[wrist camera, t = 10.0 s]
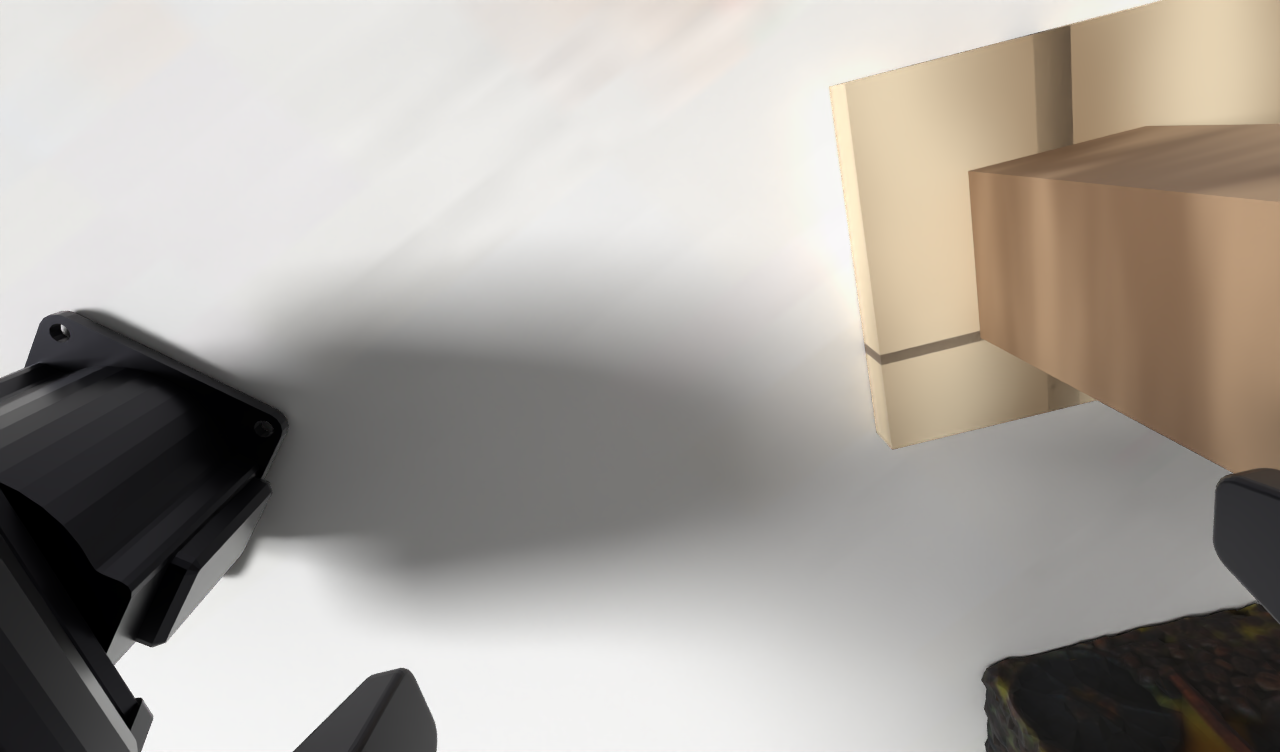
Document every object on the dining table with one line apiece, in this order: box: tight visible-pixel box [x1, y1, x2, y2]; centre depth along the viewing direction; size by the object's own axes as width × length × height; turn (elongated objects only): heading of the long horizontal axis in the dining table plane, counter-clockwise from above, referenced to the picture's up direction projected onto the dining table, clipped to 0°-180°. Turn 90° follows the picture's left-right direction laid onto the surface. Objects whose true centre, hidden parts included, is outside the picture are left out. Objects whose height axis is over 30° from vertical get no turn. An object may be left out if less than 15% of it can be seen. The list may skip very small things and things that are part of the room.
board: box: [829, 0, 1280, 450], centre depth 18 cm, size 22×10×1 cm, turn 103°
